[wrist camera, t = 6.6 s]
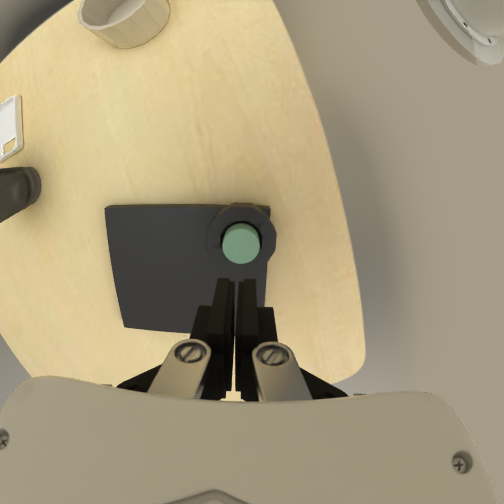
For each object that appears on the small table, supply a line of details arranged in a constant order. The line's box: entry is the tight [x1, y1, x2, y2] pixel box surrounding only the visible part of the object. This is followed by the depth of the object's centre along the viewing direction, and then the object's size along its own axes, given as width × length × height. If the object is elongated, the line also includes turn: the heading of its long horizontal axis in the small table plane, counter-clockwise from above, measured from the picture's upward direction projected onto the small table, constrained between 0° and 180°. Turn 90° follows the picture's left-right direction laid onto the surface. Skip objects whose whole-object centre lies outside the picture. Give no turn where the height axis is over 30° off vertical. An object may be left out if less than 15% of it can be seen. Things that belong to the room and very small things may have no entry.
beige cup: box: [78, 0, 170, 48], centre depth 15 cm, size 7×7×6 cm
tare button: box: [222, 223, 260, 264], centre depth 23 cm, size 3×3×2 cm
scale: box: [105, 203, 276, 334], centre depth 26 cm, size 16×14×3 cm
